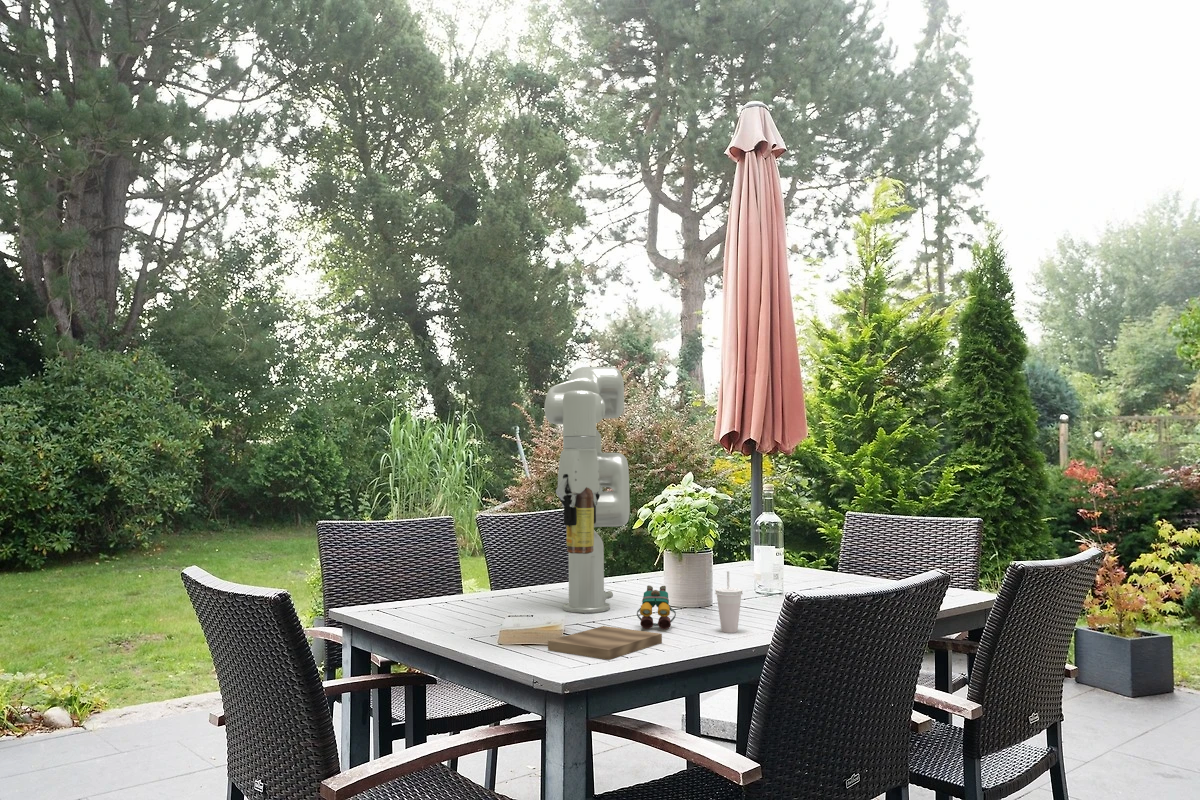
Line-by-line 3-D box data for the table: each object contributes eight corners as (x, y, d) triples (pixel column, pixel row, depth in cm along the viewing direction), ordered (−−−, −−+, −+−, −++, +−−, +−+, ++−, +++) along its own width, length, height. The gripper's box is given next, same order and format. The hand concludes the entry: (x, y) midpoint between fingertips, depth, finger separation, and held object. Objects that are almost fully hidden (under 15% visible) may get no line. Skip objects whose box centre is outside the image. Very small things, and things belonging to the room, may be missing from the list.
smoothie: (713, 632, 210) (712, 572, 210) (719, 627, 216) (718, 568, 216) (740, 634, 207) (739, 573, 208) (745, 629, 213) (744, 569, 214)
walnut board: (603, 634, 208) (603, 625, 209) (661, 642, 199) (661, 633, 199) (548, 650, 192) (548, 640, 193) (608, 659, 183) (608, 649, 183)
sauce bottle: (567, 551, 207) (567, 465, 209) (594, 551, 207) (594, 465, 208) (565, 554, 201) (565, 464, 202) (593, 554, 200) (593, 464, 202)
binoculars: (636, 637, 216) (634, 605, 211) (638, 610, 224) (636, 579, 219) (675, 637, 215) (674, 605, 210) (676, 611, 223) (675, 579, 218)
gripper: (590, 445, 215) (590, 521, 213) (542, 444, 201) (542, 525, 200) (615, 445, 210) (616, 522, 209) (568, 443, 196) (568, 527, 195)
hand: (580, 523), depth 204 cm, fingers closed on sauce bottle, 6 cm apart
